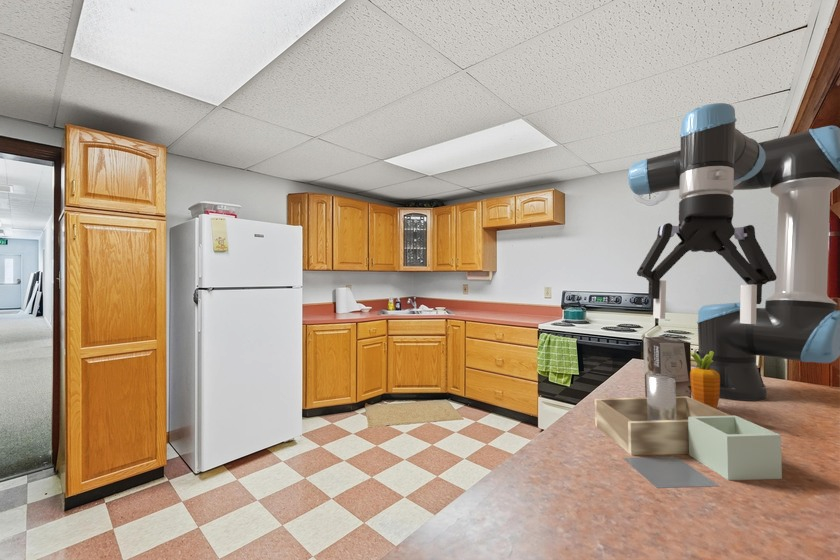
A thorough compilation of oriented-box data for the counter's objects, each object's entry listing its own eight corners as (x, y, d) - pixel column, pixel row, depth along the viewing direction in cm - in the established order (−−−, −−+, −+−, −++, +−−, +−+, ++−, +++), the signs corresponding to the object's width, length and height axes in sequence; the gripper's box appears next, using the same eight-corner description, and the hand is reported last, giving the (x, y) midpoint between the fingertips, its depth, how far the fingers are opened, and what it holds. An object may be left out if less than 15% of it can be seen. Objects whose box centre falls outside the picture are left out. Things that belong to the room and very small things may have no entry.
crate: (687, 425, 77) (687, 396, 77) (742, 455, 64) (741, 420, 64) (595, 428, 77) (594, 398, 77) (631, 458, 64) (630, 423, 64)
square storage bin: (736, 456, 64) (735, 415, 64) (781, 482, 56) (780, 435, 56) (689, 458, 64) (688, 416, 64) (728, 483, 56) (727, 436, 56)
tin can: (666, 435, 73) (664, 373, 73) (683, 445, 68) (681, 379, 68) (642, 435, 73) (641, 373, 73) (657, 446, 68) (656, 380, 68)
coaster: (676, 460, 63) (676, 456, 63) (719, 490, 54) (719, 485, 54) (622, 461, 63) (622, 458, 63) (657, 491, 54) (657, 487, 54)
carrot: (689, 423, 78) (687, 351, 78) (693, 417, 82) (691, 347, 82) (719, 429, 75) (718, 354, 75) (722, 422, 79) (720, 350, 78)
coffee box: (693, 416, 82) (692, 342, 82) (661, 415, 83) (659, 342, 83) (673, 402, 91) (671, 336, 91) (644, 401, 92) (642, 335, 92)
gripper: (636, 190, 64) (631, 317, 63) (807, 192, 59) (806, 327, 59) (620, 202, 71) (616, 315, 70) (771, 204, 67) (769, 324, 66)
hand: (702, 321), depth 64 cm, fingers open, 13 cm apart
